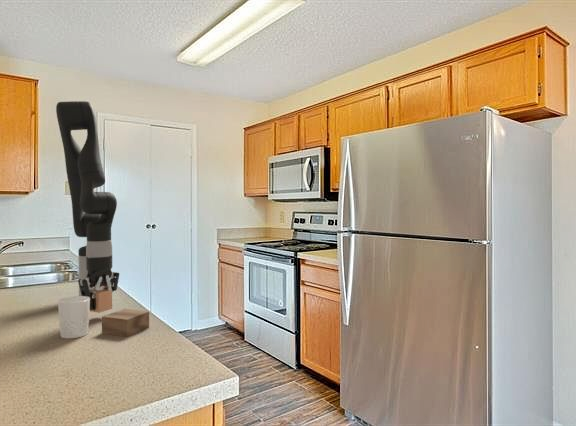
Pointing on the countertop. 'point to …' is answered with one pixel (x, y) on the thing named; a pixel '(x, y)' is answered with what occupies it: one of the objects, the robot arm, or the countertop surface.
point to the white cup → (74, 316)
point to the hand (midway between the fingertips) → (100, 307)
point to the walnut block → (125, 322)
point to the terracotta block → (103, 300)
